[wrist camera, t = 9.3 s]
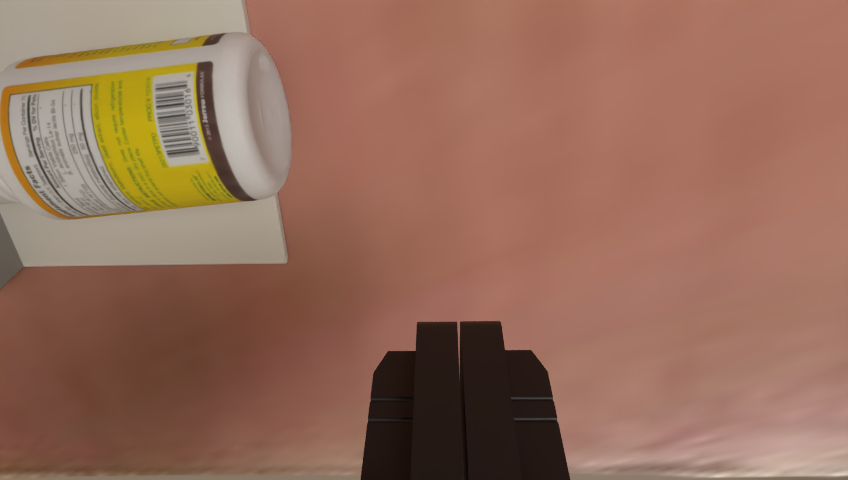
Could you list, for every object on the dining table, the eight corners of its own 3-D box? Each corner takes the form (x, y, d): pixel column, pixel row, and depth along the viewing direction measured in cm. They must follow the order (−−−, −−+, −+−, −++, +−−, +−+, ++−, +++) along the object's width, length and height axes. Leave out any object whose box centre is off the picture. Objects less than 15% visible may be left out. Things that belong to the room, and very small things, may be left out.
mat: (-172, -89, 20) (-252, -82, 18) (228, -100, 20) (200, -95, 18) (-6, 262, 28) (-48, 299, 25) (288, 258, 27) (274, 296, 25)
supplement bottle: (301, 107, 24) (59, 134, 25) (249, -9, 19) (-48, 29, 20) (291, 229, 22) (20, 254, 22) (227, 129, 17) (-114, 166, 18)
